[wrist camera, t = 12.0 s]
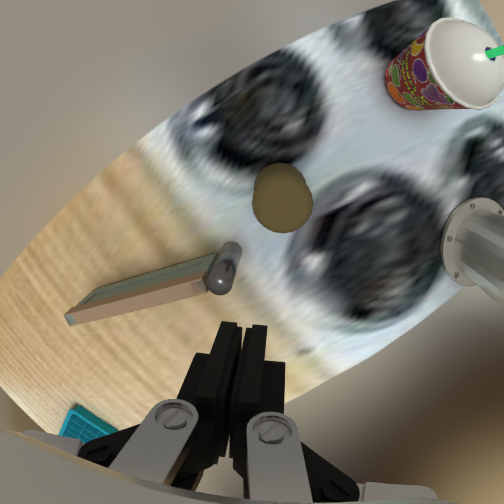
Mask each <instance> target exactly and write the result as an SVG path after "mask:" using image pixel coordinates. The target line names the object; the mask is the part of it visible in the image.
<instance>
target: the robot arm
mask: <svg viewBox="0 0 504 504" xmlns="http://www.w3.org/2000/svg"><path fill="white" fill-rule="evenodd" d="M440 250H441V260H442V264H443V266H444V269H445V271H446V272H447V274H448V275H449V276H450V277H451V278H452V279H453V280H454V281H456V282H457V283H458V284H461V285H464V286H474V285H478V286H479V287H480V288H481V289H482V290H484V291H485V292H486V293H487V294H488V295H490V296H491V297H492V298H493V299H494V300H495V301H497V302H498V303H499V304H500V305H501V306H502V307H503V308H504V211H503V209H502V208H501V207H500V205H499V204H498V203H496V202H495V201H493V200H491V199H489V198H485V197H473V198H470V199H468V200H466V201H464V202H463V203H461V204H460V205H459V206H458V207H457V208H456V209H455V210H454V211H453V213H452V214H451V216H450V217H449V219H448V221H447V223H446V225H445V228H444V230H443V234H442V238H441V246H440ZM267 327H268V326H265V325H254V324H253V326H252V328H246V332H245V337H244V341H243V346H242V327H237V323H234V322H225V321H222V322H221V324H220V327H219V330H218V333H217V335H216V338H215V341H214V344H213V346H212V349H211V352H210V354H204V353H196V354H195V356H194V358H193V361H192V363H191V365H190V368H189V370H188V372H187V375H186V377H185V380H184V382H183V384H182V387H181V389H180V391H179V394H178V396H177V399H168V400H164V401H161V402H159V403H157V404H156V405H155V406H154V407H153V408H152V409H151V410H150V412H149V413H148V415H147V416H146V417H145V419H144V420H143V421H142V423H141V424H138V425H135V426H132V427H130V428H127V429H124V430H121V431H118V432H115V433H112V434H109V435H105V436H102V437H99V438H96V439H93V440H90V441H88V442H86V443H82V442H81V440H80V439H75V438H70V437H64V436H59V435H54V434H50V433H45V432H41V431H36V430H27V431H23V432H22V433H18V432H15V431H11V430H7V429H1V428H0V504H456V503H453V502H448V501H444V500H438V498H437V495H436V494H435V492H434V491H433V490H431V489H430V488H428V487H424V486H412V485H395V484H383V483H373V482H366V483H365V484H357V483H356V482H355V481H354V480H353V479H351V478H350V477H349V476H347V475H346V474H344V473H343V472H341V471H340V470H338V469H337V468H336V467H334V466H333V465H332V464H330V463H329V462H327V461H326V460H325V459H323V458H322V457H321V456H319V455H318V454H316V453H315V452H314V451H313V450H311V449H310V448H309V447H307V446H306V445H305V444H303V443H302V442H301V441H300V437H299V432H298V428H297V426H296V423H295V422H294V421H293V420H292V419H291V418H290V417H288V416H286V415H284V392H285V362H276V361H265V360H264V359H265V348H266V338H267ZM241 346H242V350H241ZM229 435H230V450H229V451H230V452H229V457H230V458H233V469H234V470H235V471H236V472H237V473H238V474H239V475H240V476H241V477H242V478H243V499H240V498H232V497H225V496H218V495H212V494H206V493H201V492H195V491H196V489H197V487H198V485H199V483H200V481H201V478H202V476H203V472H204V470H205V469H207V468H209V467H211V466H213V464H217V463H218V458H219V456H220V457H225V454H226V449H227V445H228V440H229Z"/></svg>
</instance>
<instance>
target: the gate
mask: <svg viewBox="0 0 504 504" xmlns="http://www.w3.org/2000/svg"><path fill="white" fill-rule="evenodd" d="M217 258H218V256H217V253H214V254H211V255H207V256H204V257H201V258H197V259H194V260H190V261H187V262H184V263H180V264H177V265H174V266H170V267H167V268H163V269H160V270H157V271H153V272H150V273H147V274H143V275H140V276H137V277H133V278H130V279H127V280H123V281H120V282H117V283H113V284H110V285H107V286H103V287H100V288H97V289H94V290H93V291H92V292H90V293H89V294H88V295H87V296H86V297H85V298H84V299H83V300H82V301H80V302H79V303H78V304H77V305H76V306H75V307H72V308H71V309H70V310H69V311H67V312H66V313H65V314H64V317H65V319H66V320H67V322H68V324H69V326H73V325H77V324H82V323H86V322H90V321H95V320H99V319H103V318H108V317H112V316H116V315H120V314H125V313H129V312H133V311H137V310H141V309H145V308H149V307H153V306H158V305H162V304H166V303H170V302H174V301H178V300H182V299H186V298H189V297H193V296H197V295H201V294H205V293H208V291H209V289H208V287H207V278H208V276H209V274H210V272H211V270H212V268H213V266H214V264H215V262H216V260H217Z"/></svg>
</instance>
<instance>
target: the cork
mask: <svg viewBox="0 0 504 504" xmlns="http://www.w3.org/2000/svg"><path fill="white" fill-rule="evenodd" d="M252 206H253V212H254V214H255V216H256V218H257V220H258V221H259V222H260V223H261V224H262V225H263V226H264V227H265V228H267V229H269V230H271V231H273V232H278V233H288V232H293V231H295V230H297V229H299V228H301V227H302V226H303V225H304V224H305V223H306V222H307V220H308V219H309V217H310V215H311V213H312V208H313V199H312V193H311V192H310V190H309V188H308V186H307V185H306V181H305V179H304V177H303V175H302V173H301V172H300V171H298V170H297V169H296V168H295V167H293V166H291V165H289V164H285V163H275V164H271V165H269V166H267V167H265V168H264V169H263V170H262V171H261V172H260V173H259V174H258V176H257V178H256V180H255V184H254V194H253V200H252Z"/></svg>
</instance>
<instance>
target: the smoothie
mask: <svg viewBox="0 0 504 504" xmlns="http://www.w3.org/2000/svg"><path fill="white" fill-rule="evenodd" d="M503 55H504V45H503V46H500V47H499V46H498V44H497V43H496V41H495V40H494V39H493V38H492V37H491V36H490V35H489V34H488V33H487V32H486V31H485V30H483V29H482V28H480V27H478V26H477V25H475V24H472V23H469V22H466V21H463V20H460V19H456V18H453V17H449V18H440V19H439V20H437V21H436V22H434V23H432V24H431V26H430V27H429V28H428V29H427V30H426V31H425V32H424V33H422V34H421V35H420V36H419V37H418V38H417V39H416V40H414V41H413V42H412V43H411V44H410V45H409V46H408V47H407V48H406V49H404V50H403V51H402V52H401V53H400V54H399V55H398V56H397V57H396V58H394V59H393V60H392V61H391V62H390V63H389V65H388V67H387V68H386V74H385V81H386V86H387V88H388V91H389V93H390V95H391V96H392V97H393V98H394V100H395V101H396V102H397V103H399V104H400V105H401V106H403V107H405V108H407V109H410V110H436V109H477V110H481V109H484V108H488V107H490V106H491V105H492V104H493V103H494V102H495V101H496V100H497V98H498V96H499V94H500V92H501V91H502V89H503V86H504V56H503Z"/></svg>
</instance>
